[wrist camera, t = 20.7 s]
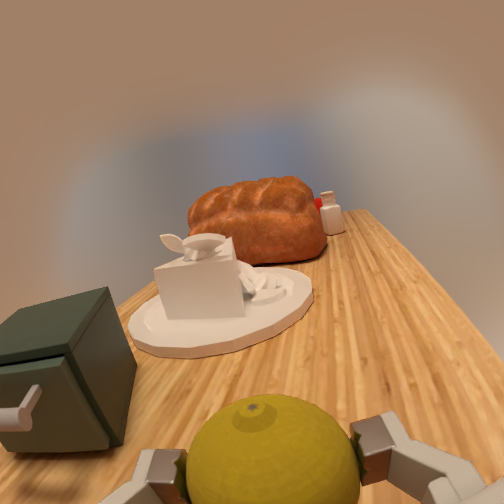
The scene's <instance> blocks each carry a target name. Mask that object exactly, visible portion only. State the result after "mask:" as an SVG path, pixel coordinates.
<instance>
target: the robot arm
mask: <svg viewBox="0 0 504 504" xmlns="http://www.w3.org/2000/svg"><path fill="white" fill-rule="evenodd" d="M349 431H350V434H351V436H352V437H351V438H350V442H351V444H352V447H353V449H354V452H355V455H356V458H357V461H358V464H359V471H360V481H361V484H362V486H366V485H369V484H373V483H376V482H380V481H383V480H386V479H387V481H388V482H390V483H391V484H393V485H395V486H396V487H398V488H399V489H401V490H402V491H404V492H405V493H407V494H409V495H410V496H412V497H413V498H415V499H417V500H418V501H420V502H421V504H504V476H503V477H502V478H500V479H498V480H497V481H495V482H494V483H492V484H491V485H489V486H487V485H486V483H485V482H484V480H483V479H482V477H481V476H480V474H479V473H478V471H477V470H476V468H475V467H474V465H473V464H472V462H471V461H469V460H466V459H463V458H460V457H458V456H455V455H453V454H450V453H447V452H445V451H442V450H440V449H437V448H435V447H432V446H430V445H428V444H425V443H423V442H420V441H418V440H414V441H412V440H411V438H410V437H409V435H408V433H407V432H406V430H405V428H404V426H403V425H402V423H401V421H400V420H399V418H398V416H397V414H396V413H395V411H393V410H391V411H389V412H386V413H382V414H379V415H376V416H373V417H370V418H366V419H363V420H360V421H356V422H353V423H350V426H349ZM187 455H188V453H187V452H186V450H185V449H143V450H142V451H141V453H140V456H139V458H138V461H137V464H136V467H135V470H134V473H133V476H132V479H131V482H129V481H127V482H125V483H124V484H123V485H122V486H120V487H119V488H118V489H116V490H115V491H114V492H112V493H111V494H110V495H108V496H107V497H106V498H104V499H103V500H102V501H100V502H99V503H98V504H192V502H191V499H190V496H189V493H188V489H187V482H186V462H187Z"/></svg>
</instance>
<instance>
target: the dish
mask: <svg viewBox="0 0 504 504" xmlns="http://www.w3.org/2000/svg"><path fill="white" fill-rule="evenodd" d="M160 239H161V241H162V242H163V243H164V245H165V246H166V247H167V248H168V249H170V250H172V251H174V252H178V253H182V254H184V257H181V258H179V259H176V260H174V261H171V262H169V263H167V264H164V265H162V266H160V267H157V268H155V269H153V274H154V277H155V281H156V284H157V288H158V291H159V295H157V296H155V297H154V298H152V299H150V300H148V301H147V302H145V303H144V304H143V305H142V306H141V307H140V308H138V309H137V310H136V311H135V312H134V313H133V314H132V316H131V318H130V321H129V323H128V326H127V328H128V331H129V333H130V336H131V338H132V340H133V341H134V343H135V345H136V347H137V348H138V349H141V350H143V351H145V352H148V353H150V354H152V355H155V356H157V357H168V358H186V359H194V358H201V357H207V356H213V355H219V354H224V353H230V352H235V351H238V350H241V349H243V348H246V347H248V346H251V345H254V344H256V343H259V342H261V341H264V340H266V339H269V338H272V337H274V336H276V335H277V334H279V333H280V332H282V331H283V330H285V329H286V328H288V327H289V326H291V325H292V324H294V323H295V322H296V321H298V320H299V319H301V318H302V317H303V315H304V314H305V313H306V311H307V310H308V308H309V307H310V305H311V304H312V302H313V301H314V300H313V293H312V286H311V280H310V278H309V277H307V276H306V275H304V274H303V273H301V272H300V271H296V270H291V269H286V268H281V267H256V268H253V267H252V266H251V265H250V264H247V263H245V262H242V261H239V260H237V258H236V254H235V250H234V245H233V241H232V237H230V238H227V239H226V237H225V236H223V235H220V234H214V233H203V234H196V235H193V236H189V237H187V238H186V239H184V240H181V239H180V238H179V237H178V236H175V235H172V234H164V235H160Z"/></svg>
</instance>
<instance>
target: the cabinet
mask: <svg viewBox="0 0 504 504" xmlns="http://www.w3.org/2000/svg"><path fill="white" fill-rule="evenodd" d="M63 353H64V356H65V357H66V359H67V361H68V364H69V366H70V368H71V370H72V372H73V374H74V376H75V378H76V380H77V382H78V384H79V386H80V388H81V389H82V391H83V393H84V395H85V397H86V399H87V401H88V402H89V404H90V406H91V408H92V409H93V411H94V413H95V415H96V416H97V418H98V420H99V421H100V423H101V425H102V426H103V428H104V430H105V431H106V433H107V434H108V436H109V438H110V443H109V447H112V446H121V445H123V439H124V432H125V426H126V420H127V414H128V408H129V403H130V397H131V392H132V387H133V382H134V377H135V372H136V367H137V363H136V361H135V359H134V356H133V354H132V351H131V349H130V346H129V344H128V341H127V339H126V336H125V333H124V331H123V328H122V325H121V323H120V320H119V317H118V314H117V312H116V309H115V306H114V303H113V300H112V297H111V294H110V291H109V288H108V287H103V288H99V289H95V290H91V291H88V292H84V293H80V294H76V295H72V296H68V297H64V298H60V299H56V300H52V301H49V302H45V303H41V304H37V305H33V306H30V307H25V308H22V309H19V310H17V311H16V312H15V313H14V314H13V315H11V316H10V317H9V318H8V319H7V320H5V321H4V322H3V323H2V324H1V325H0V364H5V363H11V362H17V361H23V360H29V359H35V358H41V357H46V356H52V355H57V354H63Z"/></svg>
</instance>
